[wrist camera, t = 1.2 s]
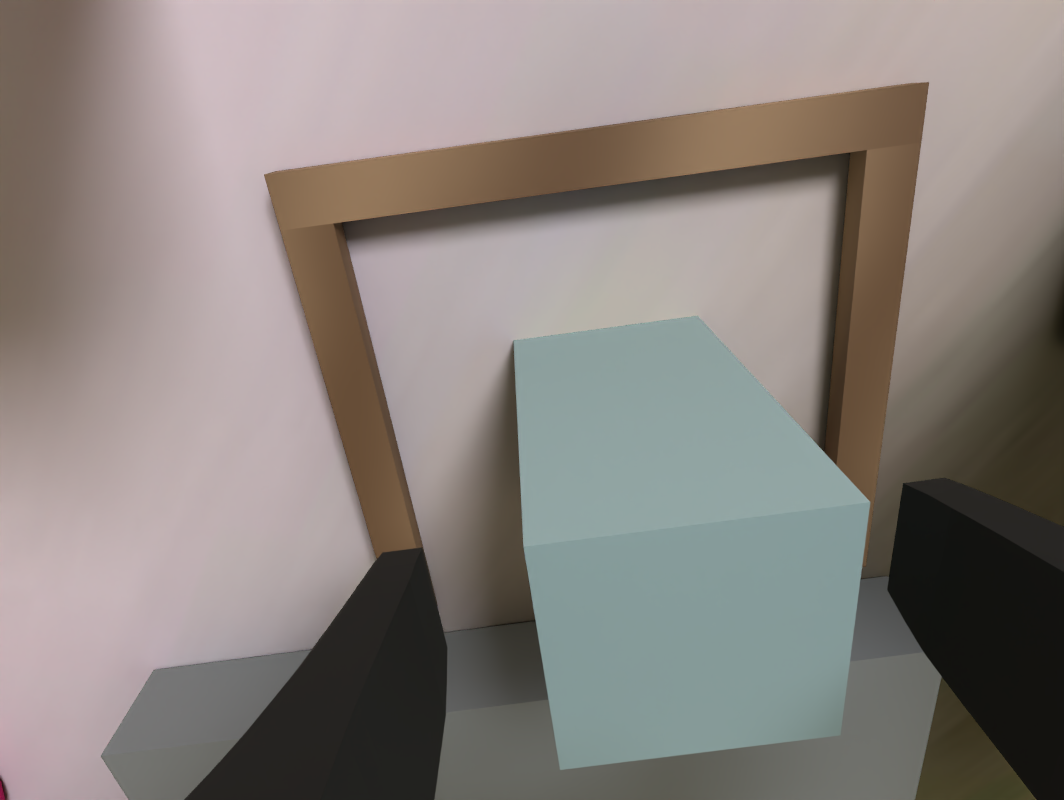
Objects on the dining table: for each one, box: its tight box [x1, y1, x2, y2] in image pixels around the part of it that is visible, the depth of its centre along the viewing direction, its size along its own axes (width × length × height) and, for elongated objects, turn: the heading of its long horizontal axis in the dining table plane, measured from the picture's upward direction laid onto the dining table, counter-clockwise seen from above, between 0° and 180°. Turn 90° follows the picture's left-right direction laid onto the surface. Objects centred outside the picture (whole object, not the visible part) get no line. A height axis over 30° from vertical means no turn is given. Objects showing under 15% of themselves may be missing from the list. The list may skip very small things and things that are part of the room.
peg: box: [514, 316, 870, 770], centre depth 11 cm, size 4×4×7 cm
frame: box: [264, 82, 929, 604], centre depth 14 cm, size 12×11×1 cm
